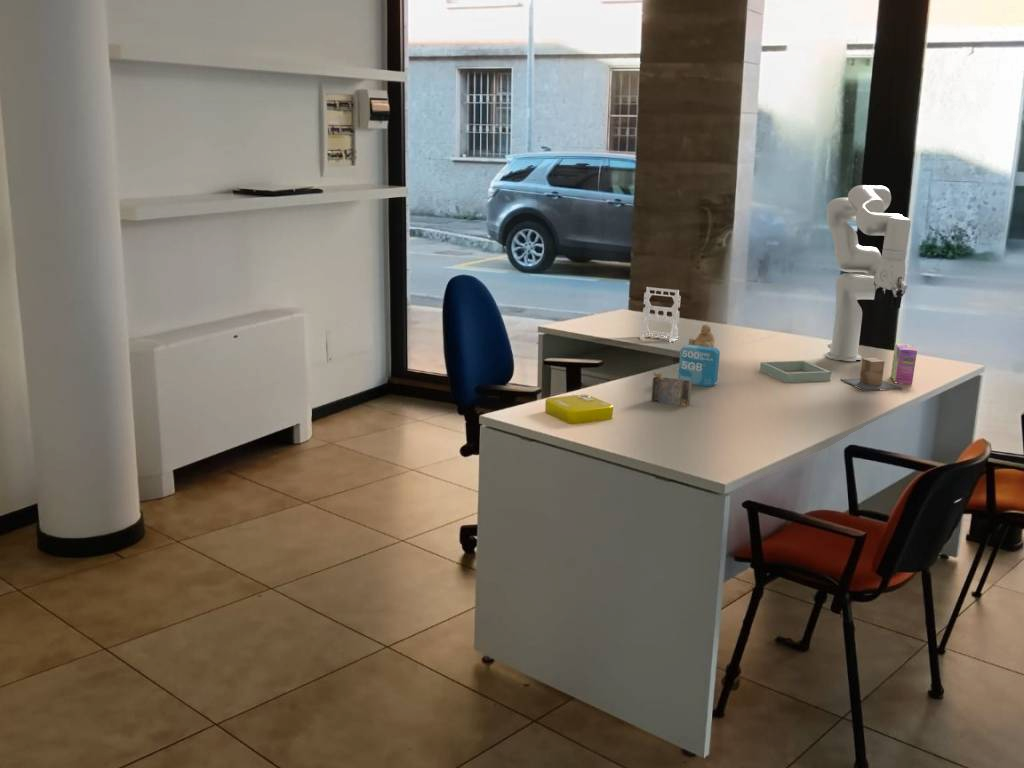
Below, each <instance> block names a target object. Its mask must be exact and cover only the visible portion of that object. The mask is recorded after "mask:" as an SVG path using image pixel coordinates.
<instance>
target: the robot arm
mask: <svg viewBox="0 0 1024 768" xmlns="http://www.w3.org/2000/svg"><path fill="white" fill-rule="evenodd" d="M891 201H892V195H891V191H890V189H889V188H888V187H886V186H884V185H871V184H869V185H867V184H859V185H856V186H854V187H852V188H851V189H850V190H849V192H848V194H847V197H836V198H834V199H831V200H830V202H829V203H828V205H827V208H826V220H827V226H828V229H829V231H830V233H831V235H832V238H833V247H834V253H835V261H836V265H837V268H838V269H839V270H840V271H841V272H845V273H841V274H840V275H838V277H837V278H836V280H835V285H834V286H835V311H834V320H833V321H834V322H833V329H832V338H831V343H830V344H827V348H828V349H829V351H827V352H826V353H825V356H826V357H827V358H828V359H830V360H835V361H839V360H844V361H843V362H857V361H856V360H860V361H862V357H863V356H862V355H861V354H859V345H860V338H861V337H860V336H861V330H862V329H861V328H862V327H861V326H862V320H863V310H862V307H861V306H860V303H859V302H858V300H873V302H875V303H883V302H884V297H885V293H886V290H889V291H892V294H893V296H892V297H891V304H890V308H891V309H900V308H901V305H902V298H903V297H904V295H905V293H906V290H907V288H908V285H907V283H906V282H905V279H906V277H905V276H906V259H907V258H906V257H907V254H908V253H907V251H908V244H909V239H910V231H911V225H912V222H911V219H910V218H908V217H905V216H903V214H900V213H890V212H889V213H888V212H885V211H886V210H887V209H888V208H889V206H890V205H891ZM848 222H855V223H856V226H857V228H858V230H859V231H861V232H862V233H863V234H865V235H867V236H883V237H884V238H883V239H884V240H883V244H882V253H881V252H880V250H879V249H878V248H877V247H875V246H866V245H864V246H863V245H860V244H859V239H858V234H857V232H856V231H855V229H854V227H852V226H851V224H850V223H848Z"/></svg>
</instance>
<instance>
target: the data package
mask: <svg viewBox="0 0 1024 768" xmlns="http://www.w3.org/2000/svg"><path fill="white" fill-rule="evenodd" d="M720 355H721V352H720V350H719V349H718V348H716V347H714V348H711V347H703V346H695V345H688V344H685V345H684V346H683V347H681V349H680V350H679V362H678V364H679V365H678V374H677V375H678V377H677V379H680V380H688V381H692V385H696V386H704V387H708V388H709V387H712V386H714V385H715V384H716V383H717V382H718V381H719V380H718V379H719V378H718V377H719V368H720V357H721V356H720Z"/></svg>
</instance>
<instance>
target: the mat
mask: <svg viewBox="0 0 1024 768" xmlns="http://www.w3.org/2000/svg"><path fill="white" fill-rule="evenodd" d="M839 380H841V382H842V381H844V382H843V383H845V382H846V383H845V384H847V383H849V384H848V385H850V384H852V385H854V386H857V387H859V388H861V389H860V390H862V389H864V390H876V391H881V390H880V389H898V390H903V388H902V387H901V386H898V385H897V384H896V385H895V384H894V383H892V382H888V381H886V380H883V379H882V385H866V384H864V383H861V382H860V377H859V378H840V379H839ZM852 385H851V386H852ZM854 386H853V387H854ZM857 387H856V388H857ZM859 388H858V389H859ZM864 390H863V391H864Z"/></svg>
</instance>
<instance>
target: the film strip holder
mask: <svg viewBox="0 0 1024 768" xmlns="http://www.w3.org/2000/svg"><path fill="white" fill-rule="evenodd" d="M650 291H654V293H651V292H650ZM657 292H660V294H659V293H657ZM664 292H666V293H668V294H664ZM670 293H674V295H671V294H670ZM643 294H644V295H643V305H644V306H645V307H643V309H642V320H643V322H642V323H641V324H642V326H641V333H640V336H641V337H643V336H644V335H647V334H648V333H650V334H652V336H653V334H658V336H655V337H660V334H661V335H663V336H664V337H662V338H667V335H668V336H670V338H668V339H669V340H668V341H669V342H671V341H675V340H677V341H678V339H676V338H678V337H679V336H678V335H679V326H677V324H678V323H679V321H680V311H679V310H678V309H679V308H680V307H681V299H682V298H681V295H680V290H679V289H671V288H659V287H652V286H651V287H650V286H646V291H645V292H644V293H643ZM652 296H659V297H660V296H661V297H669V298H672V300H673V304H672V306H671V307H667V306H659V305H657V306H656V305H652V304H651V302H650V299H651V297H652ZM652 310H653V311H654V316H652V315H651V314H650V311H652ZM659 312H663V315H662V317H661V316H659ZM668 312H670V313H671V317H668V316H667V314H668ZM650 321H654V322H664V323H670V325H671V328H670V332H662V331H655V330H653V331H652V330H650V329H649V326H648V325H649V323H650ZM649 336H650V335H649ZM671 337H672V338H671Z"/></svg>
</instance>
